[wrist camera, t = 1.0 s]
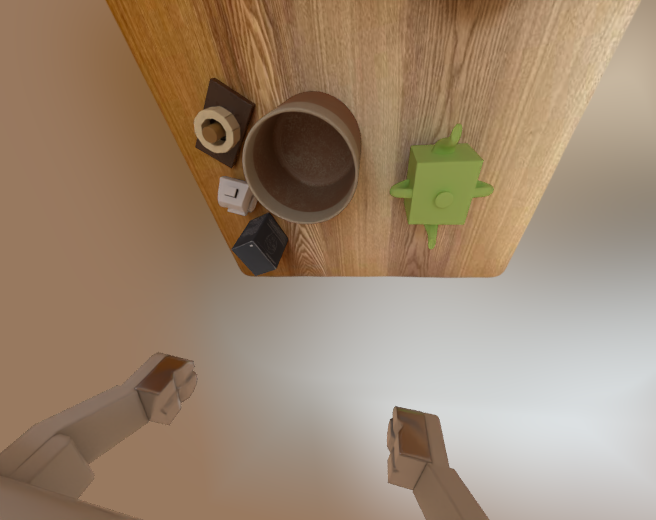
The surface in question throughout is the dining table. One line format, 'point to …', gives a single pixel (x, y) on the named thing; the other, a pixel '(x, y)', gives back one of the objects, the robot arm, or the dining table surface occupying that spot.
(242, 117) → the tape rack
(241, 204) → the grey boxy gadget
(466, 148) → the teapot
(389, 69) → the dining table surface
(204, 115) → the tape roll
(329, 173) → the planter
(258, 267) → the box
